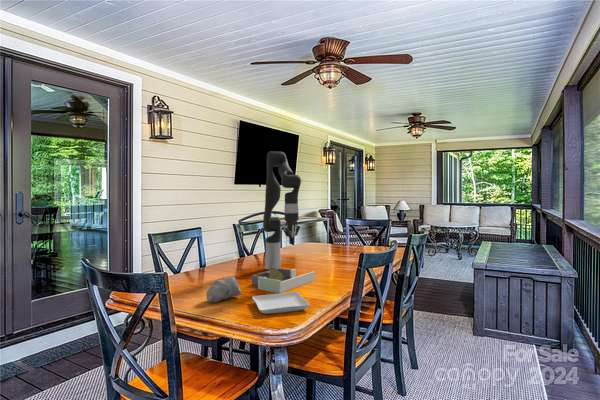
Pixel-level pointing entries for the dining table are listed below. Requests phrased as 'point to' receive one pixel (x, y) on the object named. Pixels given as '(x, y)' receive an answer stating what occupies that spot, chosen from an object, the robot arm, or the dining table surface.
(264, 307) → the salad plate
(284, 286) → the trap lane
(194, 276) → the dining table surface
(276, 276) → the rock
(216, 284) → the gray stone
